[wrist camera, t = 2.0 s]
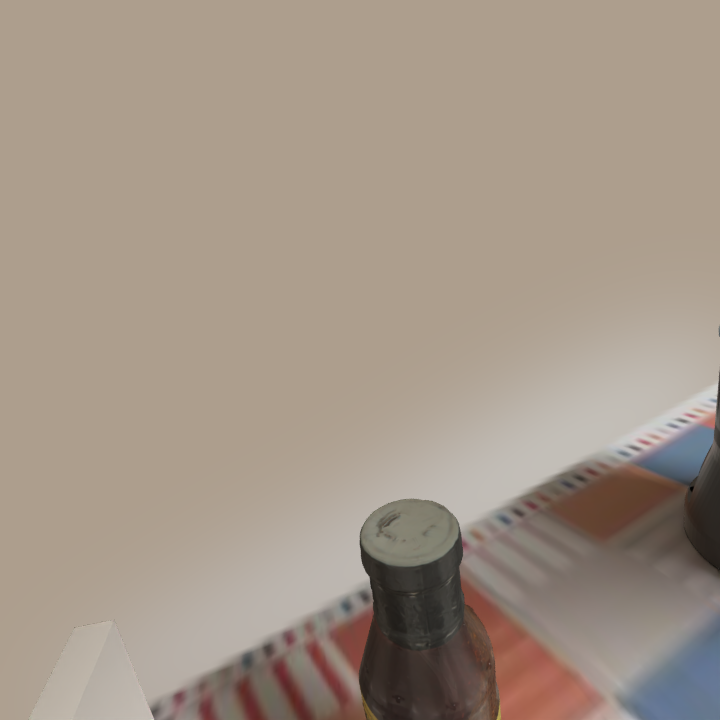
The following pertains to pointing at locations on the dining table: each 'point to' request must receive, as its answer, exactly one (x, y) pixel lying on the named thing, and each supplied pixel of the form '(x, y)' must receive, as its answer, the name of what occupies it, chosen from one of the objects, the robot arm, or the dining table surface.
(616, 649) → the dining table surface
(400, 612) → the sauce bottle
